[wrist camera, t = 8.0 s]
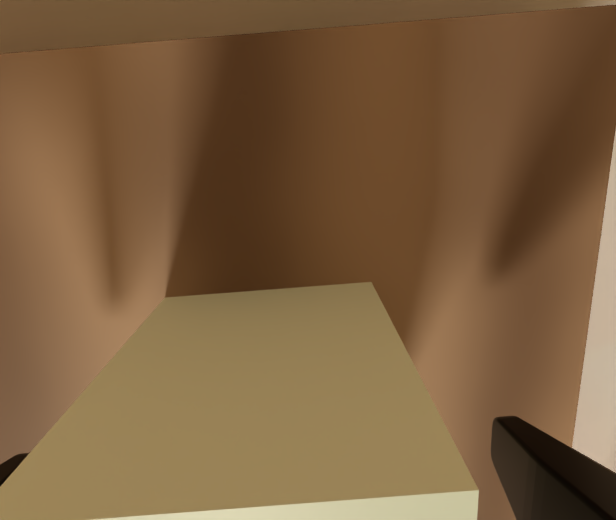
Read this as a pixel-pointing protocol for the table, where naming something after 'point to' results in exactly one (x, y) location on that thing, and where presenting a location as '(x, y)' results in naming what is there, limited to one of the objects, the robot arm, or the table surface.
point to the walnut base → (317, 201)
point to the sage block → (251, 420)
